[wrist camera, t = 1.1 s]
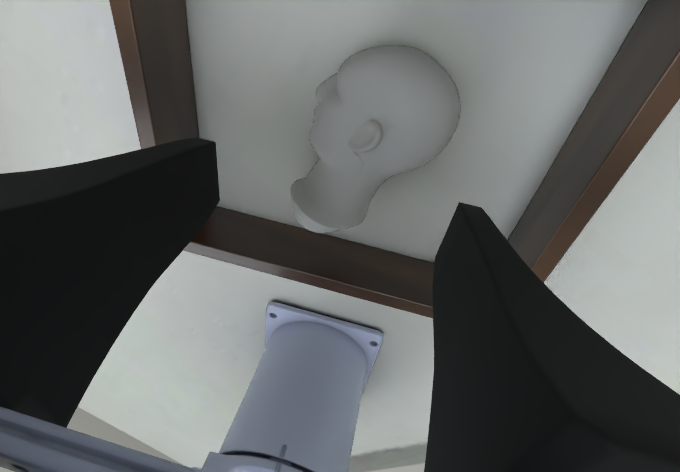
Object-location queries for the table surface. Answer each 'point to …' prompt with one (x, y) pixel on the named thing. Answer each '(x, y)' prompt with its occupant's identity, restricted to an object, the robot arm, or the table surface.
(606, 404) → the robot arm
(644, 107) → the bin
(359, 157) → the smooth white sculpture
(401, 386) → the table surface
